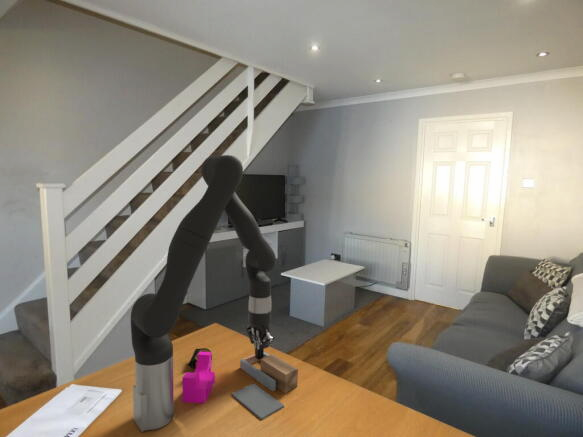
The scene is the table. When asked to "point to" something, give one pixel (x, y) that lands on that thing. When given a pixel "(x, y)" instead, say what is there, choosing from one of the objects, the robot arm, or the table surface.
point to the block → (280, 372)
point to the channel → (257, 371)
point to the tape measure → (195, 356)
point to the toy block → (199, 380)
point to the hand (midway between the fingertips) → (259, 358)
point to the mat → (258, 401)
